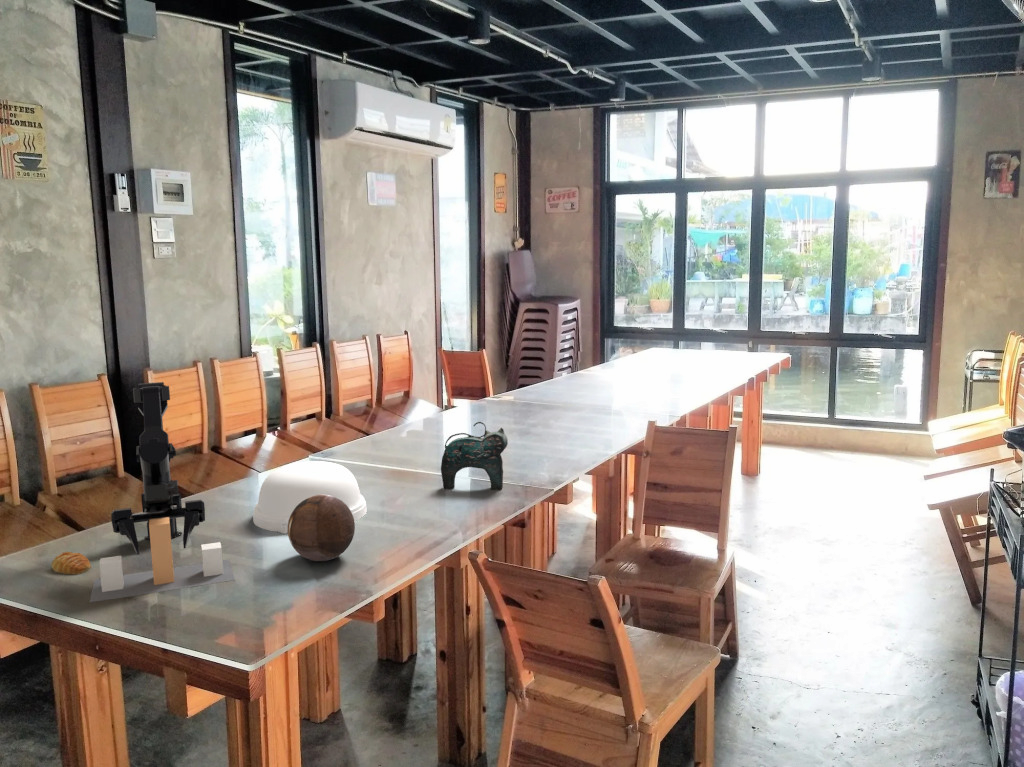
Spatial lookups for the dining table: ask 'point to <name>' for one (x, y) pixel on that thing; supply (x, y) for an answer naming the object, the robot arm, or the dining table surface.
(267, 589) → the dining table surface
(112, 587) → the white paddle
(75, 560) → the pastry
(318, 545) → the wooden sphere
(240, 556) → the dining table surface
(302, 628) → the dining table surface
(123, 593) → the charcoal mat
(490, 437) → the ceramic cat
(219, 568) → the white paddle
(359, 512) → the dome cover
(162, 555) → the tan wooden plank
